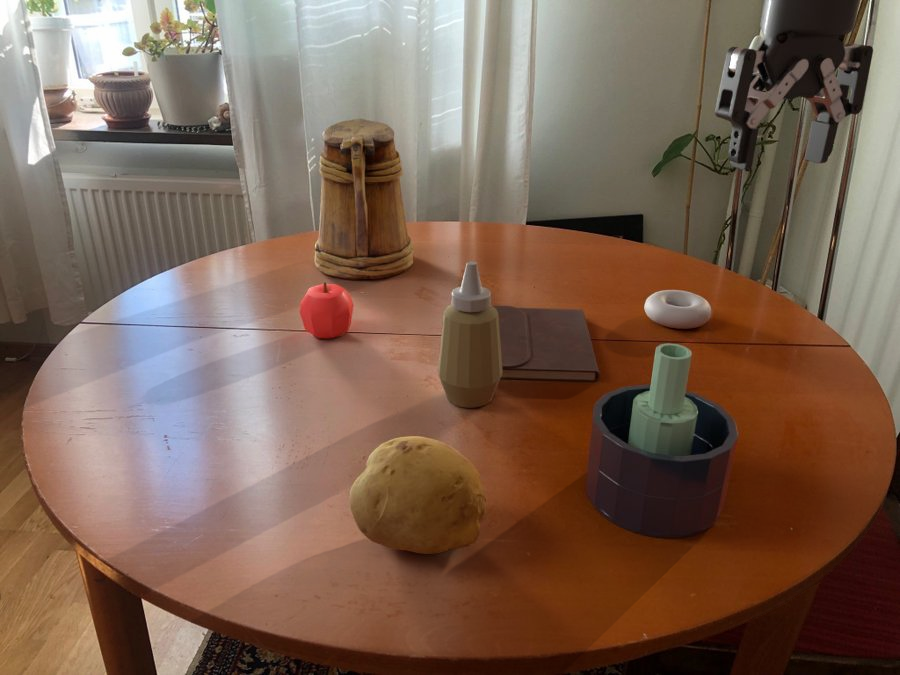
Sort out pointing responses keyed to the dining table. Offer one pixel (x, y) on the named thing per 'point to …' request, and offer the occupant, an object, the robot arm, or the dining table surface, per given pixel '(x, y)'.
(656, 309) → the donut
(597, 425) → the pot
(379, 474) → the potato
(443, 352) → the squeeze bottle
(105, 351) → the dining table surface
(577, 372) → the notebook
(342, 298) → the apple
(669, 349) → the bottle
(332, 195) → the tankard
